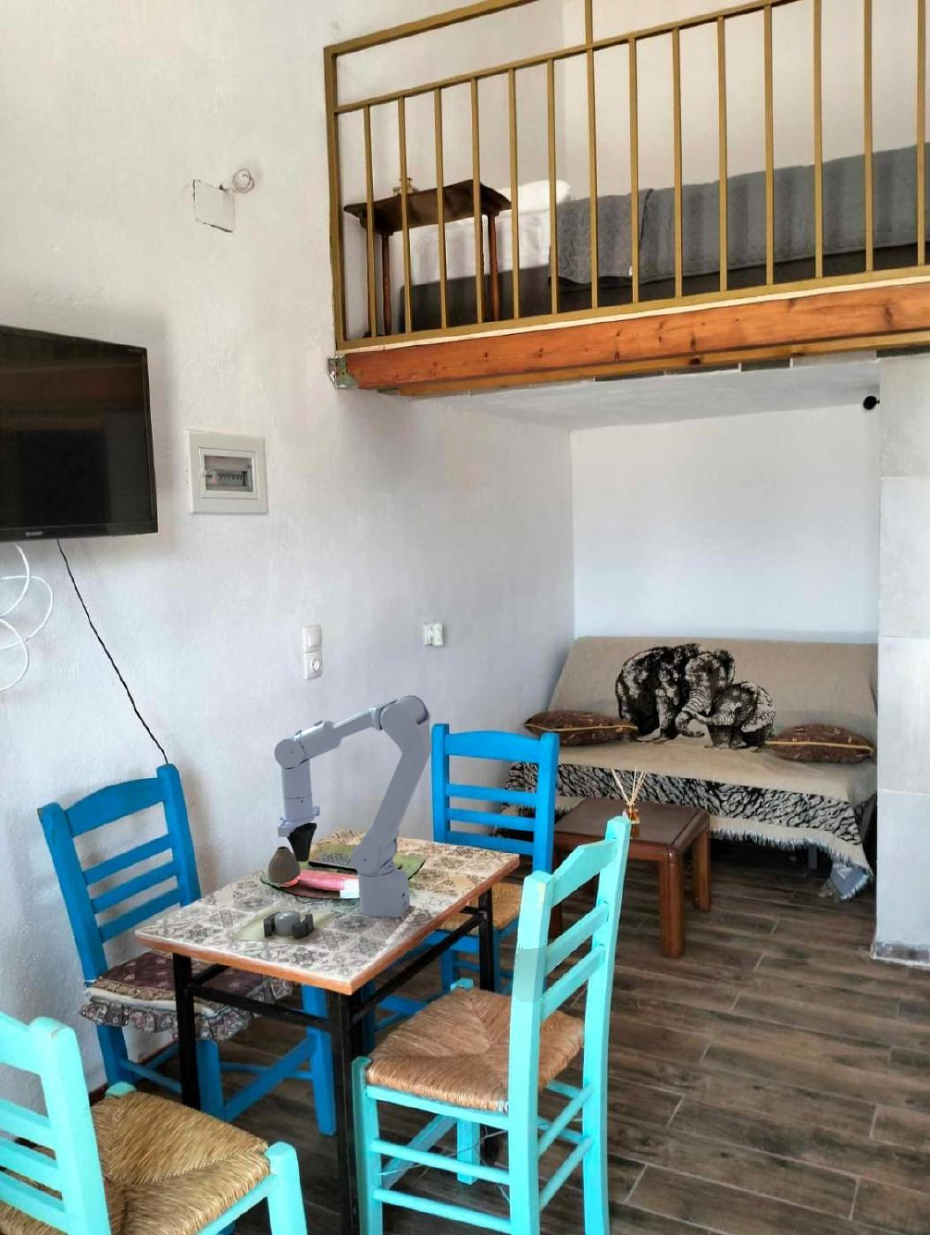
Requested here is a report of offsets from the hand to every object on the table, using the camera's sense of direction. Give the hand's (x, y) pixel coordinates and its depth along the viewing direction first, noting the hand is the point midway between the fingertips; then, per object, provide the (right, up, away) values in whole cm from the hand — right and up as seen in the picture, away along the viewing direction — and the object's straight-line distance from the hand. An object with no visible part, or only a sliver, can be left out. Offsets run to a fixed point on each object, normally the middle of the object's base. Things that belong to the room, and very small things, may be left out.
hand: (302, 860), depth 201 cm
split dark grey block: (-1, -10, -12) cm, 16 cm away
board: (-2, -11, -10) cm, 15 cm away
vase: (-6, -9, +14) cm, 17 cm away
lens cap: (-1, -10, -12) cm, 16 cm away
